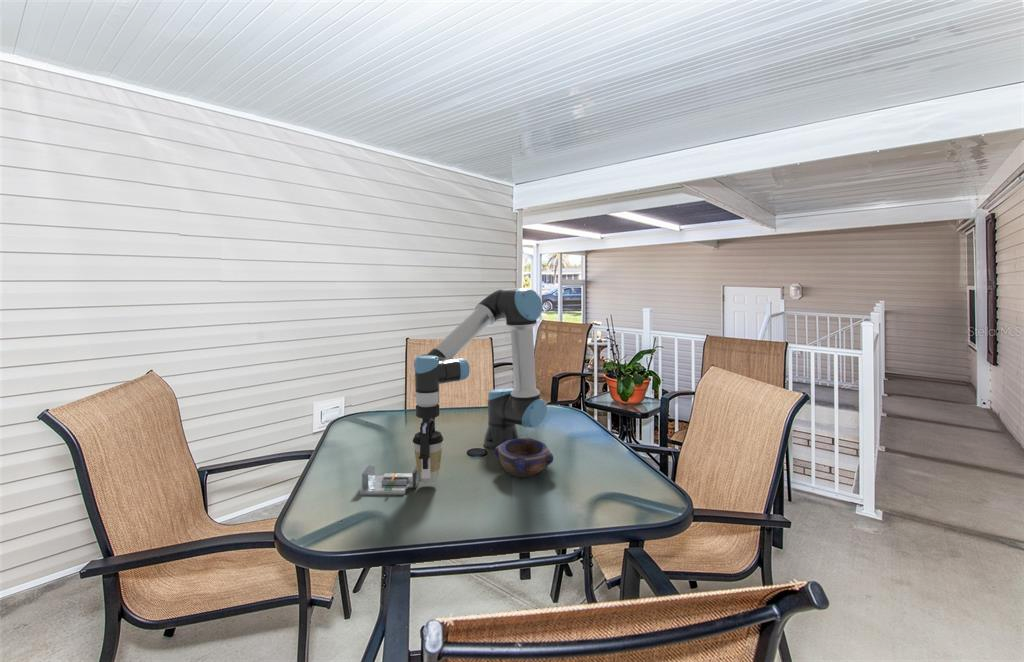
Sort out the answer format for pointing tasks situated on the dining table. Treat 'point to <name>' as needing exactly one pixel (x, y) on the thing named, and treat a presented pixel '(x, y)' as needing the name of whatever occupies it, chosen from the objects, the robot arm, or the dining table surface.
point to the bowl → (523, 456)
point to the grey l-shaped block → (381, 484)
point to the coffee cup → (434, 455)
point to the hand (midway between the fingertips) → (428, 472)
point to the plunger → (404, 477)
